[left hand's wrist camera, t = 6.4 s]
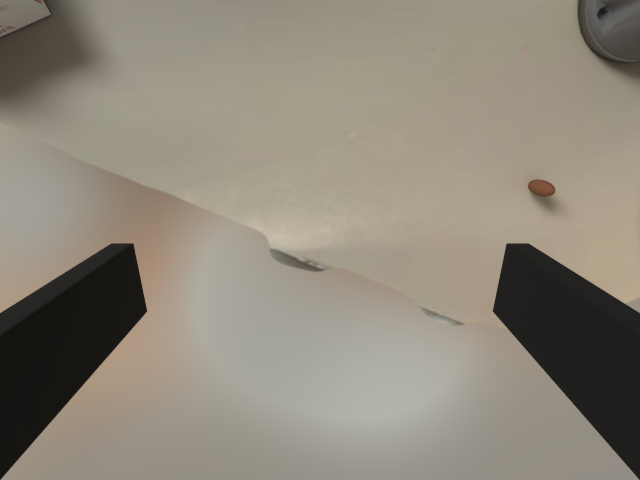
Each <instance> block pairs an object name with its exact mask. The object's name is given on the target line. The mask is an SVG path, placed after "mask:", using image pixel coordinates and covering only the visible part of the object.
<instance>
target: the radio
mask: <svg viewBox="0 0 640 480" xmlns="http://www.w3.org/2000/svg"><path fill="white" fill-rule="evenodd" d="M49 15H51V14H50V12H49V10H48V8H47V6H46V4H45V2H44V0H0V37H1V36H4V35H6V34H8V33H10V32H13V31H15V30H17V29H19V28H22V27H24V26H26V25H28V24H31V23H33V22H35V21H38V20H40V19H42V18H44V17H47V16H49Z"/></svg>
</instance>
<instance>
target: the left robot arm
mask: <svg viewBox="0 0 640 480" xmlns="http://www.w3.org/2000/svg"><path fill="white" fill-rule="evenodd" d="M578 19H579V25H580V29H581V32H582V35H583V37H584V39H585V41H586V42H587V44H588V45H589V47H590V48H591V49H592V50H593V51H594V52H595V53H596V54H598V55H599V56H601V57H602V58H604V59H607V60H609V61H613V62H618V63H631V62H638V61H640V0H579V1H578ZM146 312H147V308H146V303H145V298H144V294H143V289H142V284H141V279H140V274H139V269H138V264H137V259H136V254H135V249H134V244H110V245H108V246H107V247H105V248H104V249H102V250H100V251H99V252H97V253H96V254H94V255H92V256H91V257H89V258H88V259H86V260H84V261H83V262H81V263H80V264H78V265H76V266H75V267H73V268H72V269H70V270H68V271H67V272H65V273H64V274H62V275H60V276H59V277H57V278H56V279H54V280H52V281H51V282H49V283H48V284H46V285H45V286H43V287H41V288H40V289H38V290H37V291H35V292H33V293H32V294H30V295H29V296H27V297H25V298H24V299H22V300H21V301H19V302H17V303H16V304H14V305H13V306H11V307H9V308H8V309H6V310H5V311H3V312H1V313H0V480H1V478H2V477H3V476H4V475H5V474H6V473H7V471H8V470H9V469H10V468H11V467H12V466H13V465H14V463H15V462H16V461H17V460H18V459H19V458H20V457H21V455H22V454H23V453H24V452H25V451H26V450H27V449H28V447H29V446H30V445H31V444H32V443H33V442H34V441H35V439H36V438H37V437H38V436H39V435H40V434H41V433H42V431H43V430H44V429H45V428H46V427H47V426H48V424H49V423H50V422H51V421H52V420H53V419H54V418H55V416H56V415H57V414H58V413H59V412H60V411H61V410H62V408H63V407H64V406H65V405H66V404H67V403H68V402H69V400H70V399H71V398H72V397H73V396H74V395H75V394H76V392H77V391H78V390H79V389H80V388H81V387H82V386H83V384H84V383H85V382H86V381H87V380H88V379H89V377H90V376H91V375H92V374H93V373H94V372H95V371H96V369H97V368H98V367H99V366H100V365H101V364H102V363H103V361H104V360H105V359H106V358H107V357H108V356H109V354H110V353H111V352H112V351H113V350H114V349H115V348H116V347H117V345H118V344H119V343H120V342H121V341H122V340H123V338H124V337H125V336H126V335H127V334H128V333H129V332H130V330H131V329H132V328H133V327H134V326H135V325H136V324H137V322H138V321H139V320H140V319H141V318H142V317H143V315H144V314H145V313H146ZM493 312H494V313H495V314H496V316H497V317H498V318H499V319H500V320H501V321H502V322H503V324H504V325H505V326H506V327H507V328H508V329H509V330H510V332H511V333H512V334H513V335H514V336H515V337H516V338H517V340H518V341H519V342H520V343H521V344H522V345H523V347H524V348H525V349H526V350H527V351H528V352H529V353H530V354H531V356H532V357H533V358H534V359H535V360H536V361H537V363H538V364H539V365H540V366H541V367H542V368H543V369H544V371H545V372H546V373H547V374H548V375H549V376H550V377H551V379H552V380H553V381H554V382H555V383H556V384H557V386H558V387H559V388H560V389H561V390H562V391H563V392H564V394H565V395H566V396H567V397H568V398H569V399H570V400H571V401H572V403H573V404H574V405H575V406H576V407H577V408H578V410H579V411H580V412H581V413H582V414H583V415H584V416H585V418H586V419H587V420H588V421H589V422H590V423H591V425H592V426H593V427H594V428H595V429H596V430H597V431H598V433H599V434H600V435H601V436H602V437H603V438H604V439H605V441H606V442H607V443H608V444H609V445H610V446H611V447H612V449H613V450H614V451H615V452H616V453H617V454H618V455H619V457H620V458H621V459H622V460H623V461H624V462H625V464H626V465H627V466H628V467H629V468H630V469H631V470H632V471H633V473H634V474H635V475H636V476H637V477H638V478H639V480H640V313H639V312H637V311H635V310H634V309H632V308H631V307H629V306H627V305H626V304H624V303H623V302H621V301H619V300H618V299H616V298H615V297H613V296H611V295H610V294H608V293H607V292H605V291H603V290H602V289H600V288H599V287H597V286H595V285H594V284H592V283H591V282H589V281H588V280H586V279H584V278H583V277H581V276H580V275H578V274H576V273H575V272H573V271H572V270H570V269H568V268H567V267H565V266H564V265H562V264H560V263H559V262H557V261H556V260H554V259H552V258H551V257H549V256H548V255H546V254H544V253H543V252H541V251H540V250H538V249H536V248H535V247H533V246H532V245H530V244H506V249H505V254H504V259H503V264H502V269H501V274H500V279H499V284H498V289H497V294H496V298H495V303H494V308H493Z"/></svg>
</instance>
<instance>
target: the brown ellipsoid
mask: <svg viewBox="0 0 640 480" xmlns="http://www.w3.org/2000/svg"><path fill="white" fill-rule="evenodd" d="M528 188H529V190H530V191H531V192H533V193H534V194H536V195H539V196H551V195H553V194H554V193H555V187H554V186H553V185H552V184H551V183H549V182H547V181H544V180H533V181H531V182H529V184H528Z"/></svg>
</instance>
